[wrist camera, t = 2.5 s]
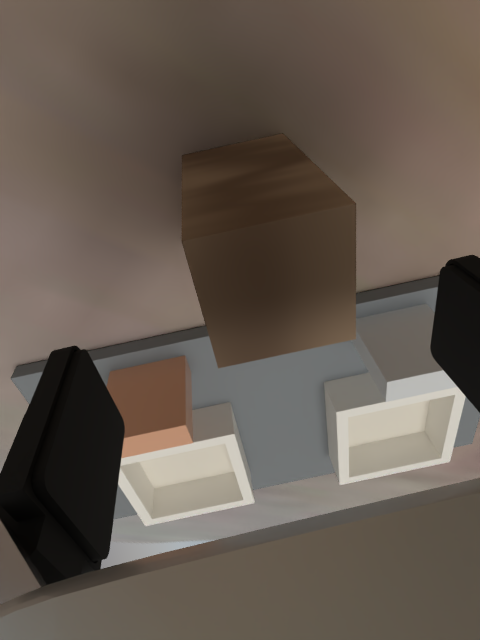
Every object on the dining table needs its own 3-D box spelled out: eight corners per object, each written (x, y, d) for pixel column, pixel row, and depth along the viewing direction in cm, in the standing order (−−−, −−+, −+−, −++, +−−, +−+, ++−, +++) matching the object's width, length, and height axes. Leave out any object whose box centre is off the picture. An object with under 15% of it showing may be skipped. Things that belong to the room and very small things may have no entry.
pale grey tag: (426, 303, 22) (479, 362, 18) (423, 323, 23) (474, 383, 19) (350, 320, 22) (387, 382, 18) (350, 338, 23) (385, 402, 19)
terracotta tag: (185, 355, 22) (185, 424, 18) (191, 372, 23) (193, 442, 19) (110, 371, 22) (94, 444, 18) (118, 388, 23) (105, 461, 19)
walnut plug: (282, 133, 17) (356, 203, 10) (292, 228, 20) (356, 339, 13) (182, 155, 17) (181, 241, 10) (205, 247, 20) (218, 368, 13)
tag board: (510, 260, 23) (557, 292, 20) (464, 433, 32) (492, 471, 29) (16, 366, 23) (-7, 413, 20) (116, 507, 32) (109, 552, 29)
